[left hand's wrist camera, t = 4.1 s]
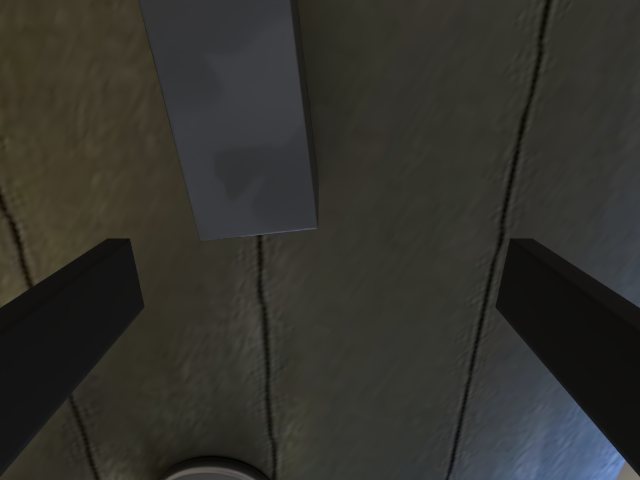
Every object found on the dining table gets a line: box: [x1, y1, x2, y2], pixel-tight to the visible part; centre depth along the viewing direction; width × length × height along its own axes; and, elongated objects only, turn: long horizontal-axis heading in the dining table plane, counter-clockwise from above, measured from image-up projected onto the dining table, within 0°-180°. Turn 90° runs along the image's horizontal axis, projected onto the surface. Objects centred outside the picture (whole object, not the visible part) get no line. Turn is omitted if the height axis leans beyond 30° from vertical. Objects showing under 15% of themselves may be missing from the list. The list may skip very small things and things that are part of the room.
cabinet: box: [138, 0, 319, 241], centre depth 22 cm, size 18×7×11 cm, turn 6°
